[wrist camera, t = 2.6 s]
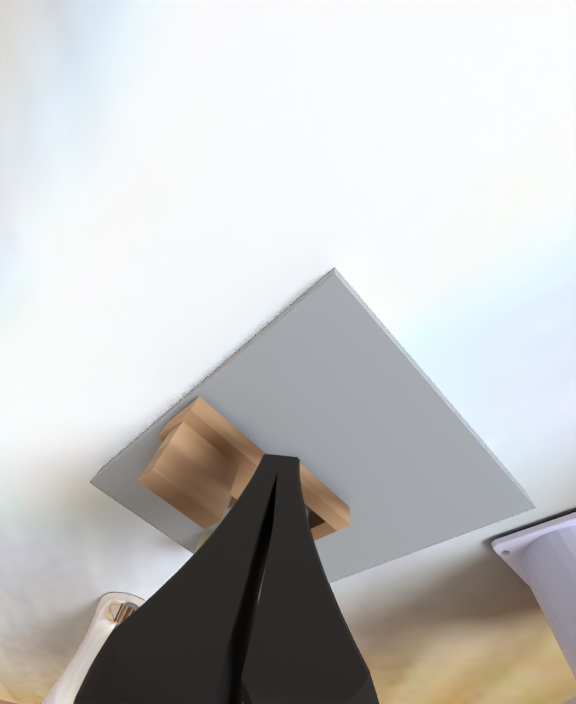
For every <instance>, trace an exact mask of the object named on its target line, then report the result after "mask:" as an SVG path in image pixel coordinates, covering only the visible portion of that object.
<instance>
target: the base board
mask: <svg viewBox="0 0 576 704" xmlns="http://www.w3.org/2000/svg"><path fill="white" fill-rule="evenodd" d="M199 396H200V397H201V398H202V399H203V400H204V401H206V402H207V403H208V404H209V405H210V406H211V407H212V408H214V409H215V410H216V411H217V412H218V413H219V414H221V415H222V416H223V417H224V418H225V419H226V420H228V421H229V422H230V423H231V424H232V425H233V426H235V427H236V428H237V429H238V430H239V431H240V432H242V433H243V434H244V435H245V436H246V437H247V438H248V439H250V440H251V441H252V442H253V443H254V444H255V445H257V446H258V447H259V448H260V449H261V450H262V451H264V452H265V453H266V454H273V455H282V456H291V457H292V456H293V457H298V458H299V459H300V463H301V464H302V465H303V466H304V467H305V468H306V469H307V470H308V471H310V472H311V473H312V474H313V475H314V476H315V477H316V478H317V479H319V480H320V481H321V482H322V483H323V484H324V485H325V486H327V487H328V488H329V489H330V490H331V491H332V492H333V493H334V494H336V495H337V496H338V497H339V498H340V499H341V500H342V501H343V502H345V503H346V504H347V505H348V506H349V507H350V524H351V525H350V526H347V527H345V528H343V529H341V530H338V531H336V532H334V533H332V534H329V535H327V536H325V537H323V538H320V539H318V540H316V541H314V542H315V545H316V549H317V552H318V555H319V557H320V560H321V563H322V566H323V569H324V571H325V574H326V577H327V580H328V582H329V583H331V582H334V581H337V580H339V579H342V578H345V577H348V576H350V575H353V574H356V573H359V572H361V571H364V570H367V569H370V568H372V567H375V566H378V565H380V564H383V563H386V562H389V561H391V560H394V559H397V558H400V557H402V556H405V555H408V554H411V553H413V552H416V551H419V550H421V549H424V548H427V547H430V546H432V545H435V544H438V543H441V542H443V541H446V540H449V539H452V538H454V537H457V536H460V535H463V534H465V533H468V532H471V531H473V530H476V529H479V528H482V527H484V526H487V525H490V524H493V523H495V522H498V521H501V520H504V519H506V518H509V517H512V516H515V515H517V514H520V513H523V512H525V511H528V510H531V509H534V508H536V507H535V506H534V504H533V503H532V501H531V499H530V498H529V496H528V495H527V493H526V492H525V490H524V489H523V488H522V487H521V485H520V484H519V483H518V482H517V481H516V479H515V478H514V477H513V476H512V475H511V474H510V472H509V471H508V470H507V469H506V468H505V467H504V465H503V464H502V463H501V462H500V461H499V460H498V458H497V457H496V456H495V455H494V454H493V453H492V451H491V450H490V449H489V448H488V447H487V445H486V444H485V443H484V442H483V441H482V440H481V438H480V437H479V436H478V435H477V434H476V433H475V431H474V430H473V429H472V428H471V427H470V426H469V424H468V423H467V422H466V421H465V420H464V419H463V417H462V416H461V415H460V414H459V413H458V411H457V410H456V409H455V408H454V407H453V406H452V404H451V403H450V402H449V401H448V400H447V399H446V397H445V396H444V395H443V394H442V393H441V392H440V390H439V389H438V388H437V387H436V386H435V385H434V383H433V382H432V381H431V380H430V379H429V377H428V376H427V375H426V374H425V373H424V372H423V370H422V369H421V368H420V367H419V366H418V365H417V363H416V362H415V361H414V360H413V359H412V358H411V356H410V355H409V354H408V353H407V352H406V351H405V349H404V348H403V347H402V346H401V345H400V343H399V342H398V341H397V340H396V339H395V338H394V336H393V335H392V334H391V333H390V332H389V331H388V329H387V328H386V327H385V326H384V325H383V324H382V322H381V321H380V320H379V319H378V318H377V317H376V315H375V314H374V313H373V312H372V311H371V309H370V308H369V307H368V306H367V305H366V304H365V302H364V301H363V300H362V299H361V298H360V297H359V295H358V294H357V293H356V292H355V291H354V290H353V288H352V287H351V286H350V285H349V284H348V283H347V281H346V280H345V279H344V278H343V277H342V275H341V274H340V273H339V272H338V271H337V270H336V268H334V269H332V270H331V271H330V272H329V273H328V274H327V275H325V276H324V277H323V278H322V279H321V280H320V281H318V282H317V283H316V284H315V285H314V286H313V287H311V288H310V289H309V290H308V291H307V292H306V293H305V294H303V295H302V296H301V297H300V298H299V299H298V300H296V301H295V302H294V303H293V304H292V305H291V306H289V307H288V308H287V309H286V310H285V311H284V312H283V313H281V314H280V315H279V316H278V317H277V318H276V319H274V320H273V321H272V322H271V323H270V324H269V325H267V326H266V327H265V328H264V329H263V330H262V331H260V332H259V333H258V334H257V335H256V336H255V337H254V338H252V339H251V340H250V341H249V342H248V343H247V344H245V345H244V346H243V347H242V348H241V349H240V350H238V351H237V352H236V353H235V354H234V355H233V356H231V357H230V358H229V359H228V360H227V361H226V362H225V363H223V364H222V365H221V366H220V367H219V368H218V369H216V370H215V371H214V372H213V373H212V374H211V375H209V376H208V377H207V378H206V379H205V380H204V381H202V382H201V383H200V384H199V385H198V386H197V387H196V388H194V389H193V390H192V391H191V392H190V393H189V394H187V395H186V396H185V397H184V398H183V399H182V400H180V401H179V402H178V403H177V404H176V405H175V406H173V407H172V408H171V409H170V410H169V411H168V412H167V413H165V414H164V415H163V416H162V417H161V418H160V419H158V420H157V421H156V422H155V423H154V424H153V425H151V426H150V427H149V428H148V429H147V430H146V431H145V432H143V433H142V434H141V435H140V436H139V437H138V438H136V439H135V440H134V441H133V442H132V443H131V444H129V445H128V446H127V447H126V448H125V449H124V450H122V451H121V452H120V453H119V454H118V455H117V456H116V457H114V458H113V459H112V460H111V461H110V462H109V463H107V464H106V465H105V466H104V467H103V468H102V469H101V470H100V471H99V472H98V473H97V474H96V476H95V477H94V478H93V479H92V481H91V482H90V483H91V484H93V485H94V486H95V487H97V488H98V489H100V490H101V491H103V492H104V493H106V494H107V495H109V496H110V497H111V498H113V499H114V500H116V501H117V502H119V503H120V504H122V505H123V506H125V507H126V508H128V509H129V510H130V511H132V512H133V513H135V514H136V515H138V516H139V517H141V518H142V519H144V520H145V521H147V522H148V523H149V524H151V525H152V526H154V527H155V528H157V529H158V530H160V531H161V532H163V533H164V534H165V535H167V536H168V537H170V538H171V539H173V540H174V541H176V542H177V543H179V544H180V545H182V546H183V547H184V548H186V549H187V550H189V551H190V552H192V553H193V554H195V553H196V551H197V550H198V549H199V548H200V547H201V546H202V545H203V544H204V543H205V541H206V540H207V539H208V538H209V537H210V535H211V534H212V533H213V532H214V531H215V529H216V528H217V527H218V526H219V524H220V523H221V522H222V520H223V519H224V518H225V516H226V515H227V514H228V512H229V511H230V510H228V506H229V503H230V500H231V497H232V496H231V495H229V498H228V501H227V504H226V507H225V510H224V513H223V516H222V519H221V521H219V522H217V523H216V524H214V525H212V526H210V527H209V528H207V529H203V528H202V527H200V526H199V525H198V524H196V523H195V522H193V521H192V520H191V519H189V518H188V517H187V516H185V515H184V514H182V513H181V512H180V511H178V510H177V509H175V508H174V507H173V506H171V505H170V504H168V503H167V502H166V501H164V500H163V499H162V498H160V497H159V496H157V495H156V494H155V493H153V492H152V491H150V490H149V489H148V488H146V487H145V486H143V485H142V484H141V483H139V482H138V481H137V480H138V479H139V477H140V476H141V474H142V473H143V471H144V470H145V468H146V467H147V465H148V464H149V462H150V461H151V459H152V458H153V456H154V455H155V453H156V452H157V450H158V449H159V447H160V446H161V444H162V443H163V442H162V441H161V440H160V439H158V438H157V437H158V435H159V434H160V432H161V431H162V430H163V428H164V427H165V425H166V424H167V423H168V422H169V421H170V420H171V419H172V418H174V417H175V416H176V415H177V414H178V413H180V412H181V411H182V410H183V409H184V408H186V407H187V406H188V405H189V404H190V403H192V402H193V401H194V400H195V399H196V398H197V397H199ZM305 509H306V513H307V517H308V514H309V512H311V511H313V510H311V509H310V508H309V507H308V506H307V505H306V504H305ZM265 567H266V566H265ZM264 572H265V570H264ZM263 576H264V575H263ZM262 581H263V579H262ZM261 586H262V583H261ZM260 591H261V588H260ZM259 596H260V593H259Z"/></svg>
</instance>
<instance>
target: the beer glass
mask: <svg viewBox="0 0 576 704" xmlns="http://www.w3.org/2000/svg"><path fill="white" fill-rule="evenodd" d="M145 602H146V601H144V600H142V599H140V598H138V597H136V596H133V595H130V594H126V593H117V592H115V593H108V594H106V595H104V596H103V597H102V598H101V600H100V602H99V604H98V606H97V609H96V611H95V614H94V616H93V619H92V622H91V624H90V626H89V629H88V631H87V633H86V635H85V637H84V639H83V641H82V643H81V644H80V646H79V648H78V649H77V651H76V653H75V654H74V656H73V657H72V659H71V660H70V662H69V663H68V665H67V666H66V667H65V669H64V670H63V672H62V673H61V675H60V676H59V677H58V679H57V680H56V682H55V683H54V684H53V686H52V687H51V689H50V690H49V691H48V693H47V694H46V696H45V697H44V699H43V700H42V701H41V703H40V704H74V703H73V702H74V699H75V697H76V695H77V693H78V691H79V689H80V686H81V684H82V682H83V680H84V678H85V676H86V674H87V672H88V670H89V668H90V666H91V664H92V662H93V661H94V659H95V657H96V656H97V654H98V652H99V651H100V649H101V647H102V646H103V644H104V643H105V641H106V639H107V638H108V636H109V635H110V633H111V632H112V631H113V629H114V628H115V627H117V626H118V625H119V624H120V623H121V622H123V621H124V620H125V619H126V618H127V617H128V616H130V615H131V614H132V613H133V612H134V611H135V610H137V609H138V608H139V607H140V606H141V605H142V604H144V603H145Z"/></svg>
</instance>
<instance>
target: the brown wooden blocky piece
mask: <svg viewBox="0 0 576 704" xmlns="http://www.w3.org/2000/svg"><path fill="white" fill-rule="evenodd" d="M157 438H158V439H160V440H161V441H162V442H163V443H162V444H161V446H160V447H159V449H158V450H157V452H156V453H155V455H154V456H153V458H152V459H151V461H150V462H149V464H148V465H147V467H146V468H145V470H144V471H143V473H142V474H141V476H140V477H139V479H138V480H137V481H138V482H139V483H141V484H142V485H143V486H145V487H146V488H148V489H149V490H150V491H152V492H153V493H155V494H156V495H157V496H159V497H160V498H162V499H163V500H164V501H166V502H167V503H168V504H170V505H171V506H173V507H174V508H175V509H177V510H178V511H180V512H181V513H182V514H184V515H185V516H187V517H188V518H189V519H191V520H192V521H193V522H195V523H196V524H198V525H199V526H200V527H202V528H203V529H207V528H209V527H210V526H212V525H214V524H216V523H217V522H219V521H221V519H222V516H223V513H224V510H225V507H226V504H227V501H228V498H229V495H231V496H232V497H231V500H230V503H229V506H228V510H231V508H232V507H233V505H234V504H235V503H236V501H237V500H238V498H239V497H240V495H241V494H242V492H243V490H244V489H245V487H246V486H247V484H248V483H249V481H250V479H251V478H252V476H253V474H254V472H255V471H256V469H257V467H258V465H259V463H260V461H261V459H262V456H263V455H265V454H266V453H265V452H264V451H262V450H261V449H260V448H259V447H258V446H257V445H255V444H254V443H253V442H252V441H251V440H250V439H248V438H247V437H246V436H245V435H244V434H243V433H242V432H240V431H239V430H238V429H237V428H236V427H235V426H233V425H232V424H231V423H230V422H229V421H228V420H226V419H225V418H224V417H223V416H222V415H221V414H219V413H218V412H217V411H216V410H215V409H214V408H212V407H211V406H210V405H209V404H208V403H207V402H206V401H204V400H203V399H202V398H201V397H200V396H199V397H197V398H196V399H195V400H194V401H193V402H192V403H190V404H189V405H188V406H187V407H186V408H184V409H183V410H182V411H181V412H180V413H178V414H177V415H176V416H175V417H174V418H172V419H171V420H170V421H169V422H168V423H167V424H166V425H165V427H164V428H163V430H162V431H161V432H160V434H159V435H158V437H157ZM292 457H293V456H292ZM300 481H301V488H302V494H303V499H304V504H306V505H307V506H308V507H309V508H310V509H311V510H313V511H311V512H309V514H308V521H309V525H310V529H311V532H312V536H313V539H314V541H316V540H318V539H320V538H323V537H325V536H327V535H329V534H332V533H334V532H336V531H338V530H341V529H343V528H345V527H347V526H350V525H351V524H350V507H349V506H348V505H347V504H346V503H345V502H343V501H342V500H341V499H340V498H339V497H338V496H337V495H336V494H334V493H333V492H332V491H331V490H330V489H329V488H328V487H327V486H325V485H324V484H323V483H322V482H321V481H320V480H319V479H317V478H316V477H315V476H314V475H313V474H312V473H311V472H310V471H308V470H307V469H306V468H305V467H304V466H303V465H302V464H301V463H300Z"/></svg>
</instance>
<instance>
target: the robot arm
mask: <svg viewBox="0 0 576 704" xmlns="http://www.w3.org/2000/svg"><path fill="white" fill-rule="evenodd" d="M491 545H492V548H493V550H494V551H495V552H496V553H497V554H498V555H499V556H500V557H501V558H502V559H503V560H504V561H505V562H506V563H507V564H508V565H509V566H510V567H511V568H512V569H513V570H514V571H515V572H516V573H517V574H518V576H519V577H520V578H521V579H522V580H523V581H524V582H525V583H526V584H527V585H528V586H529V587H530V588H531V590H532V592H533V594H534V596H535V598H536V600H537V602H538V604H539V606H540V608H541V610H542V612H543V614H544V616H545V618H546V620H547V622H548V624H549V626H550V628H551V630H552V632H553V634H554V636H555V638H556V640H557V642H558V644H559V646H560V648H561V650H562V652H563V655H564V657H565V659H566V661H567V663H568V665H569V667H570V669H571V671H572V673H573V675H574V677H575V679H576V512H574V513H571V514H568V515H565V516H562V517H559V518H556V519H553V520H550V521H548V522H545V523H542V524H539V525H536V526H533V527H530V528H527V529H524V530H521V531H519V532H516V533H513V534H510V535H507V536H504V537H501V538H498V539H495V540H493V541H492V543H491ZM265 566H266V567H265ZM264 570H265V572H264ZM263 575H264V576H263ZM262 579H263V581H262ZM261 583H262V586H261ZM260 588H261V591H260ZM259 593H260V596H259ZM258 599H259V600H258ZM73 703H74V704H379V701H378V698H377V694H376V691H375V688H374V685H373V681H372V678H371V675H370V672H369V669H368V667H367V665H366V663H365V661H364V659H363V657H362V655H361V653H360V651H359V649H358V647H357V645H356V643H355V641H354V639H353V637H352V635H351V633H350V631H349V628H348V626H347V624H346V622H345V620H344V618H343V615H342V613H341V611H340V608H339V606H338V604H337V601H336V599H335V596H334V594H333V592H332V589H331V587H330V584H329V582H328V580H327V577H326V574H325V571H324V569H323V566H322V563H321V560H320V557H319V555H318V552H317V549H316V545H315V542H314V539H313V536H312V532H311V529H310V525H309V521H308V517H307V513H306V509H305V504H304V499H303V494H302V488H301V481H300V459H299V458H298V457H291V456H282V455H273V454H265V455H263V456H262V459H261V461H260V463H259V465H258V467H257V469H256V471H255V472H254V474H253V476H252V478H251V479H250V481H249V483H248V484H247V486H246V487H245V489H244V490H243V492H242V494H241V495H240V497H239V498H238V500H237V501H236V503H235V504H234V505H233V507H232V508H231V510H230V511H229V512H228V514H227V515H226V516H225V518H224V519H223V520H222V522H221V523H220V524H219V526H218V527H217V528H216V529H215V531H214V532H213V533H212V534H211V535H210V537H209V538H208V539H207V540H206V541H205V543H204V544H203V545H202V546H201V547H200V548H199V549H198V550H197V551H196V553H195V554H194V555H193V556H192V557H191V558H190V559H189V560H188V561H187V562H186V563H185V564H184V565H183V566H182V568H181V569H180V570H179V571H178V572H177V573H176V574H175V575H173V576H172V577H171V578H170V579H169V580H168V581H167V582H166V583H165V584H164V585H163V586H162V587H161V588H160V589H159V590H158V591H157V592H156V593H155V594H154V595H153V596H151V597H150V598H149V599H148V600H147V601H146V602H145V603H144V604H142V605H141V606H140V607H139V608H138V609H137V610H135V611H134V612H133V613H132V614H131V615H130V616H128V617H127V618H126V619H125V620H124V621H123V622H121V623H120V624H119V625H118V626H117V627H115V628H114V629H113V631H112V632H111V633H110V635H109V636H108V638H107V639H106V641H105V643H104V644H103V646H102V647H101V649H100V651H99V652H98V654H97V656H96V657H95V659H94V661H93V662H92V664H91V666H90V668H89V670H88V672H87V674H86V676H85V678H84V680H83V682H82V684H81V686H80V689H79V691H78V693H77V695H76V697H75V699H74V702H73Z"/></svg>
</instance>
